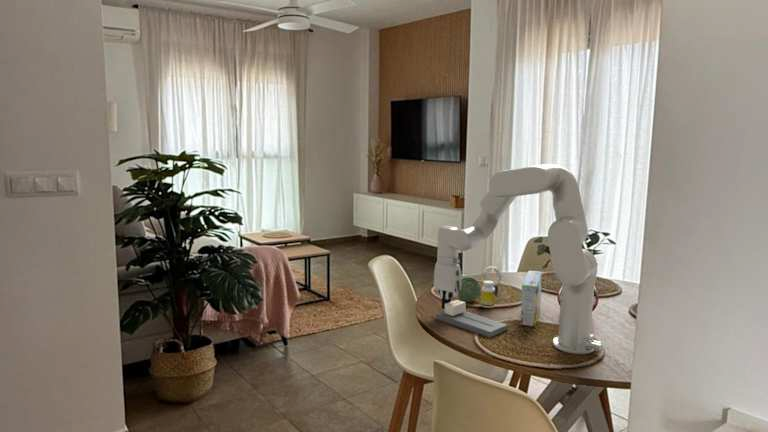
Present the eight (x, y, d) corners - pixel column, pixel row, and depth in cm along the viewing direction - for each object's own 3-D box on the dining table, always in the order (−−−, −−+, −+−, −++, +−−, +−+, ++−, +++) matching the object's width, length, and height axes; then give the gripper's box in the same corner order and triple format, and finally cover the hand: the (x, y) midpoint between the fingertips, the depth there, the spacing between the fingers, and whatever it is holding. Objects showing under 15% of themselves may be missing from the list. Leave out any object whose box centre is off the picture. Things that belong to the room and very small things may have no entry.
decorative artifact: (478, 299, 212) (479, 275, 210) (481, 305, 205) (483, 280, 203) (454, 299, 212) (455, 275, 210) (456, 304, 205) (457, 280, 203)
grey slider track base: (507, 330, 179) (507, 324, 178) (490, 337, 172) (490, 331, 172) (453, 312, 196) (453, 307, 196) (435, 318, 189) (435, 313, 189)
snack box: (525, 307, 203) (527, 269, 201) (540, 309, 201) (543, 271, 199) (519, 325, 184) (521, 284, 181) (535, 327, 182) (538, 286, 179)
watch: (502, 293, 220) (503, 268, 218) (483, 293, 220) (484, 268, 218) (500, 290, 225) (501, 265, 223) (481, 289, 226) (482, 264, 224)
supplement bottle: (494, 308, 201) (495, 284, 199) (480, 307, 202) (481, 283, 200) (494, 304, 206) (495, 280, 205) (480, 303, 207) (481, 279, 206)
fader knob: (465, 311, 190) (465, 302, 189) (453, 315, 185) (453, 306, 184) (456, 308, 193) (457, 299, 192) (444, 313, 188) (444, 303, 187)
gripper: (470, 262, 186) (468, 311, 189) (438, 254, 197) (437, 301, 200) (457, 265, 181) (455, 315, 184) (425, 257, 192) (424, 305, 195)
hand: (446, 308), depth 192 cm, fingers closed
